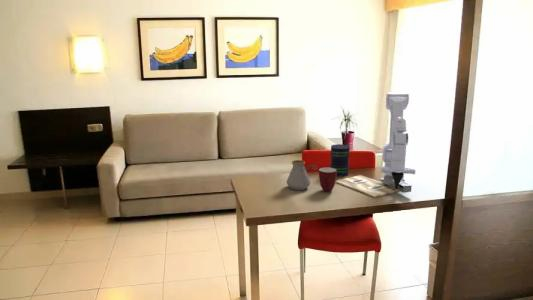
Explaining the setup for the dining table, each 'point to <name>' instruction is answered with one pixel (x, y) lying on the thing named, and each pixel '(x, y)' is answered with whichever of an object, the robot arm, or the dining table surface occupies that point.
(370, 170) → the dining table surface
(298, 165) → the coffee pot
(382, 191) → the label board
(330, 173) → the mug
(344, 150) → the storage jar
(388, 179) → the grey square pillar
